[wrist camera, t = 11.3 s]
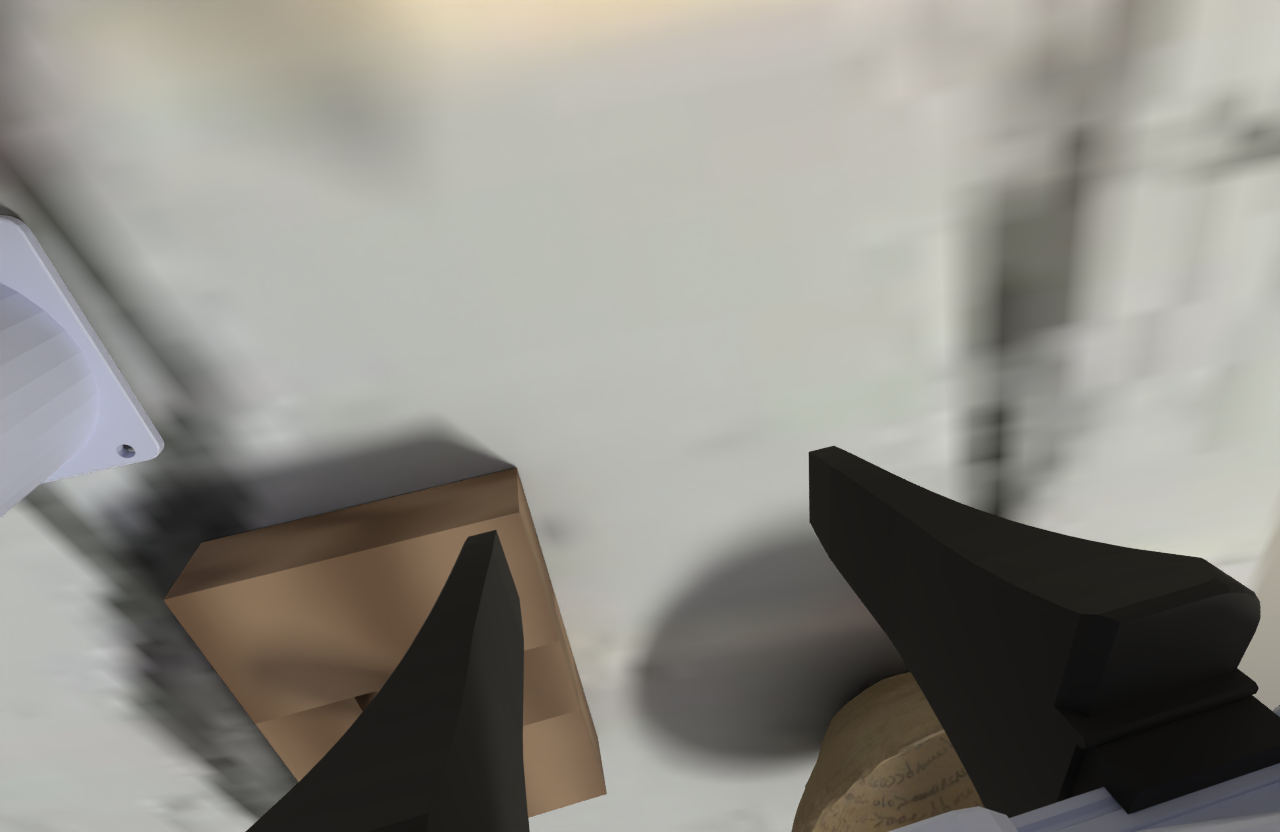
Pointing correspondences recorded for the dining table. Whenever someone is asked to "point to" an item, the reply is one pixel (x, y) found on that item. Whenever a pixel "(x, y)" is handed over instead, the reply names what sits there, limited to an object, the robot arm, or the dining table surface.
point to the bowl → (884, 765)
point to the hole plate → (380, 623)
